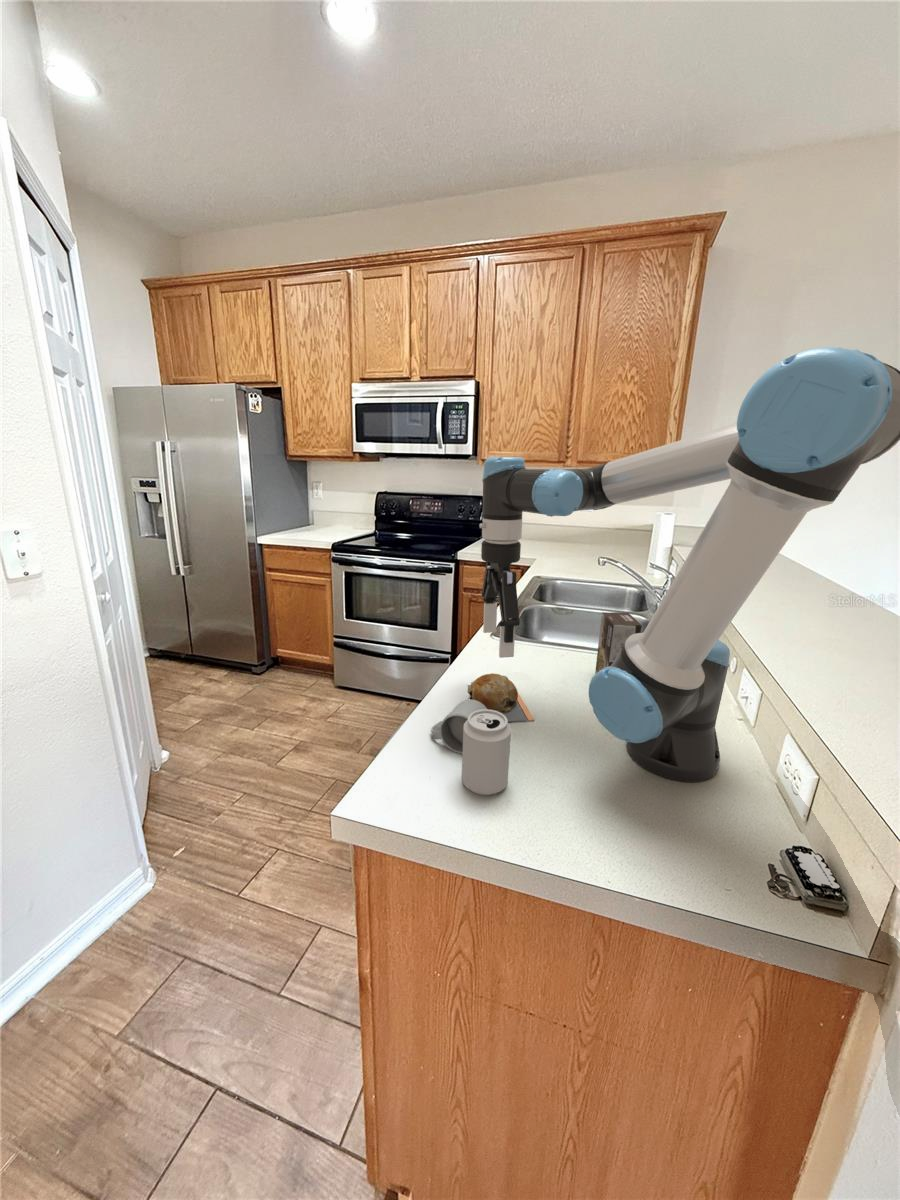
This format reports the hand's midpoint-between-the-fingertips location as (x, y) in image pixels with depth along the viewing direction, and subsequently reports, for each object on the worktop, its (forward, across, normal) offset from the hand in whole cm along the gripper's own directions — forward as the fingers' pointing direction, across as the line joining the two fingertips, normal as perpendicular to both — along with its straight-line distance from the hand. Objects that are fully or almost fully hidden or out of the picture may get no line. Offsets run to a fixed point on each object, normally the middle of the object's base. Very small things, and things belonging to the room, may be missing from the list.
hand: (497, 643), depth 99 cm
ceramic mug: (+14, +12, -10) cm, 21 cm away
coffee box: (+14, -7, +30) cm, 34 cm away
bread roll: (+14, -1, -1) cm, 14 cm away
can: (+14, +24, -8) cm, 29 cm away
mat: (+14, -1, +1) cm, 14 cm away
